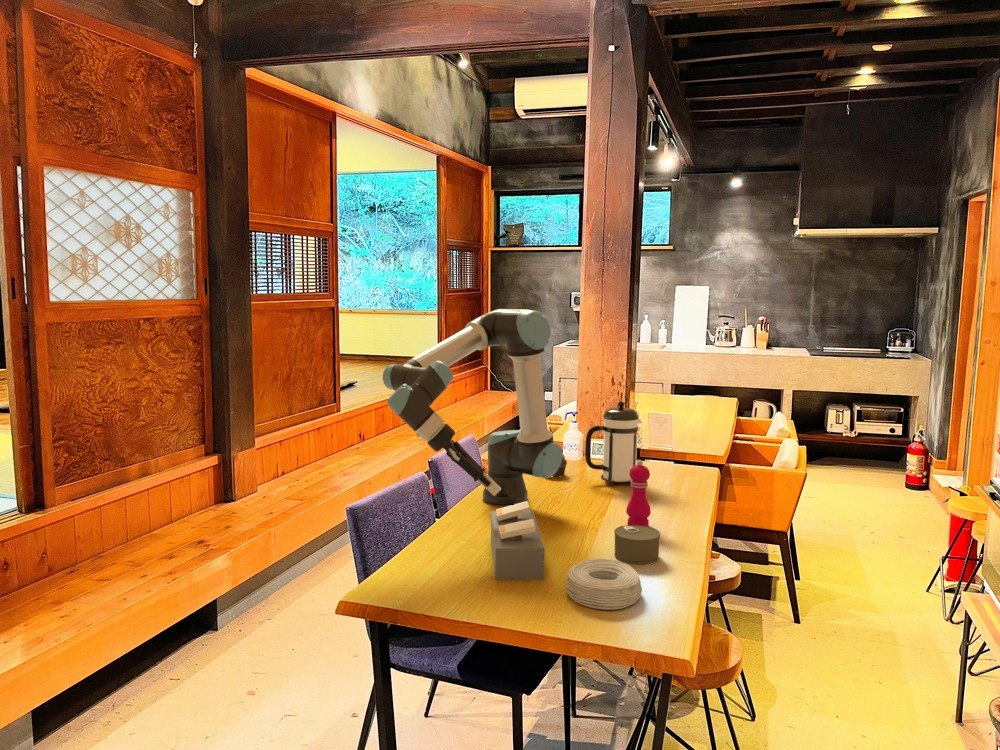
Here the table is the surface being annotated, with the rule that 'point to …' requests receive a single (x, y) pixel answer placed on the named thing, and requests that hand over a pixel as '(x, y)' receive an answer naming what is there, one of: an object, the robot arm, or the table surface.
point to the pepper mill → (638, 496)
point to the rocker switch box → (517, 551)
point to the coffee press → (616, 444)
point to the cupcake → (561, 467)
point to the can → (636, 544)
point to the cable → (603, 584)
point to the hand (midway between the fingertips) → (497, 492)
